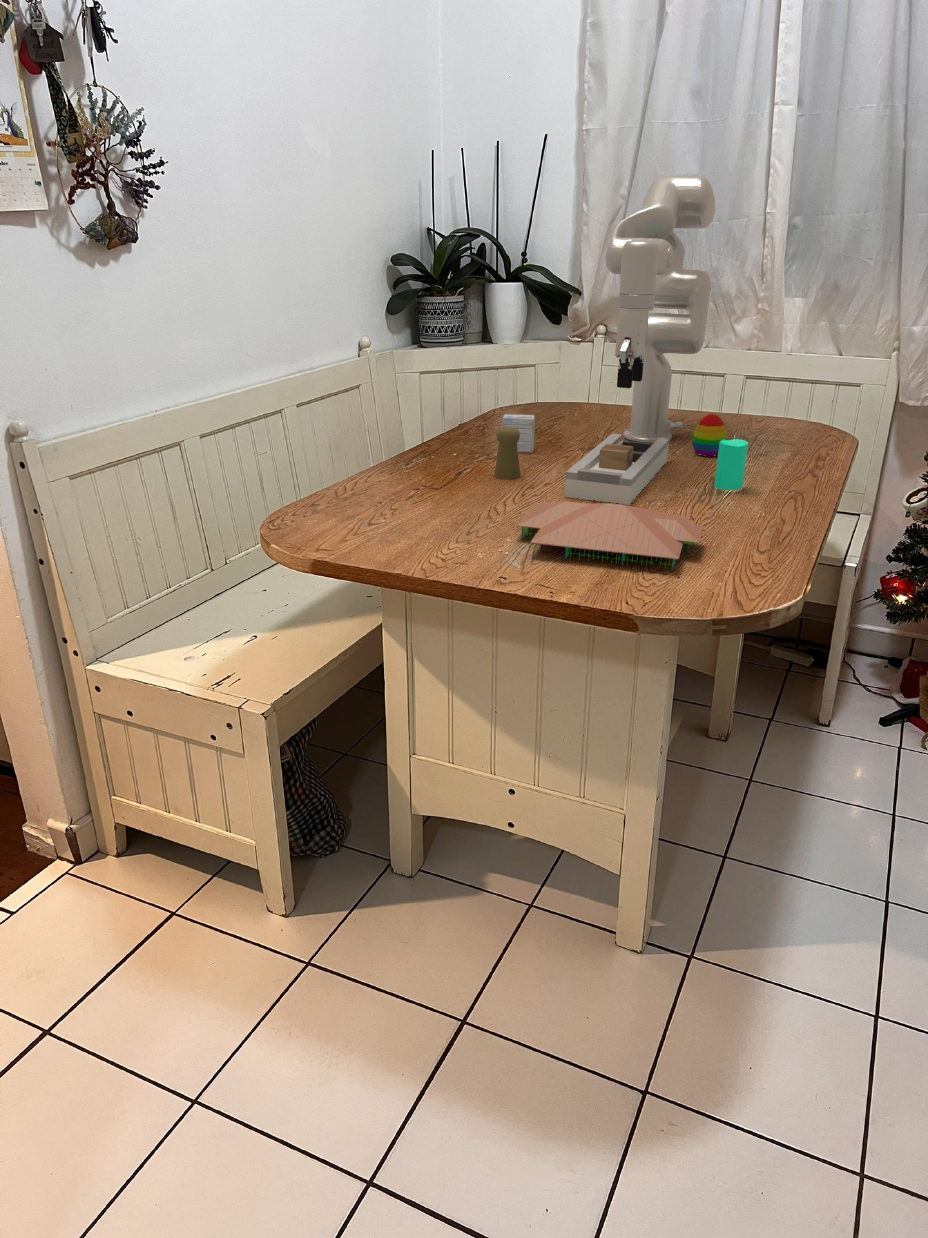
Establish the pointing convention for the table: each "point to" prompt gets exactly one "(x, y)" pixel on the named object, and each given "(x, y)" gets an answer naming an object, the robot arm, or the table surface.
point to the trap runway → (616, 472)
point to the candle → (731, 464)
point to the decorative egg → (709, 435)
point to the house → (610, 529)
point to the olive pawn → (507, 454)
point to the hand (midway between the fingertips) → (629, 383)
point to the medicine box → (522, 430)
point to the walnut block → (616, 457)
